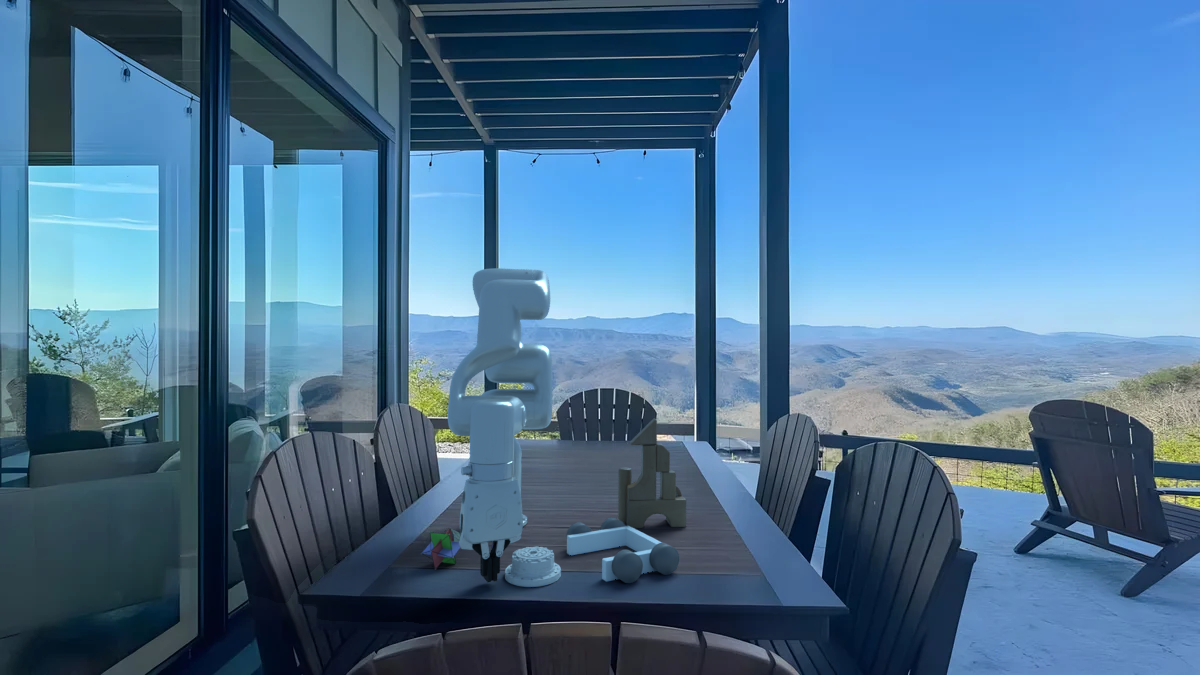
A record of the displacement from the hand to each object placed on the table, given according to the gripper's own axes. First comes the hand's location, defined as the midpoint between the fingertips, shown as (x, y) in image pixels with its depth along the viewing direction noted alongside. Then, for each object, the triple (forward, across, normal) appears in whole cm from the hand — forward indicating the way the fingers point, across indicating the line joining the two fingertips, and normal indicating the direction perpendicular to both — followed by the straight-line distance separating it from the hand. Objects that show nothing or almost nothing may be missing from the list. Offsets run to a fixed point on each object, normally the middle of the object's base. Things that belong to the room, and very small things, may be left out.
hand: (489, 578), depth 95 cm
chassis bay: (+1, +25, 0) cm, 25 cm away
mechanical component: (+2, +8, 0) cm, 8 cm away
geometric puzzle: (+1, -5, +13) cm, 14 cm away
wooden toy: (+1, +45, +17) cm, 48 cm away
